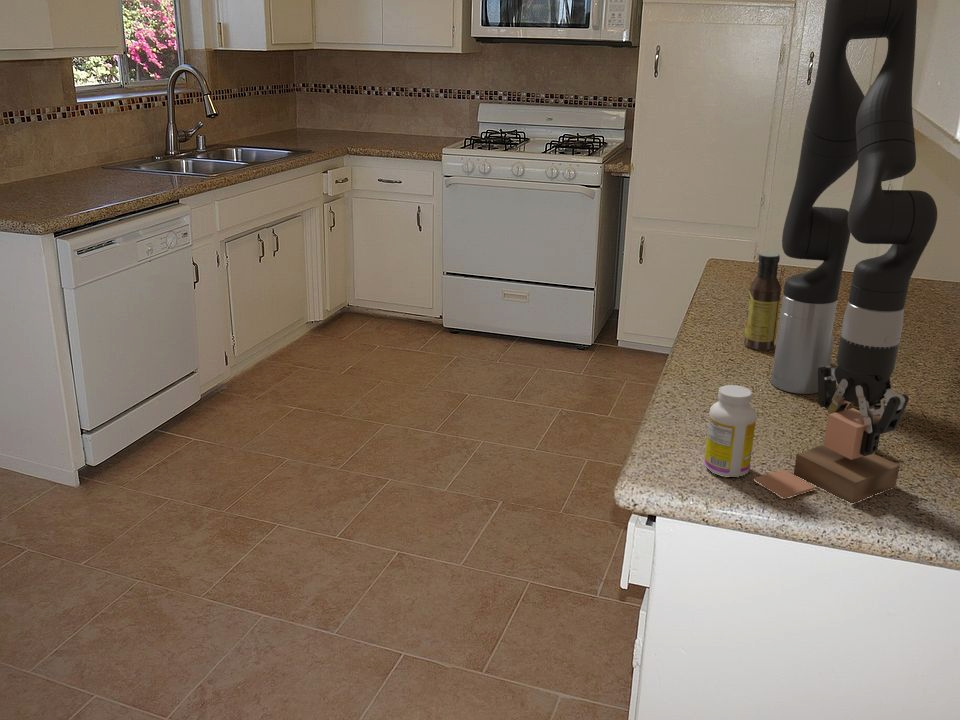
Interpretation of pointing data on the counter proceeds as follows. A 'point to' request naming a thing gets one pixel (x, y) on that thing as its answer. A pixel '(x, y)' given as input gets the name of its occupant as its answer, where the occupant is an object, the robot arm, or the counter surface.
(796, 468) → the walnut block
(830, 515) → the counter surface
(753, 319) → the sauce bottle
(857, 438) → the terracotta block
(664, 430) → the counter surface
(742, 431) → the supplement bottle
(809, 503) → the counter surface
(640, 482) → the counter surface
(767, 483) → the tile
